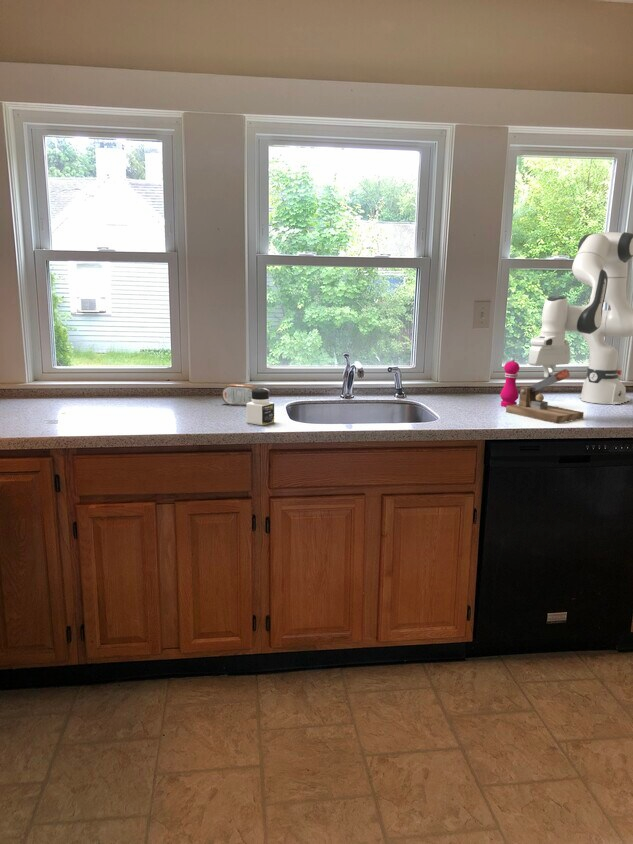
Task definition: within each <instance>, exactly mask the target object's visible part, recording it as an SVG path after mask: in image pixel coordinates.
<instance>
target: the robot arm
mask: <svg viewBox="0 0 633 844" xmlns="http://www.w3.org/2000/svg"><path fill="white" fill-rule="evenodd" d="M632 258H633V233H631V232H627V231H625V232H618V231H617V232H615V231H614V232H613V231H608V232H600V233H589V234H585V235H583V236H582V237H581V238H580V240H579V241H578V244H577V253H576V255H575V257H574V260H573V262H572V266H571V271H572V274H573V276H574V277H575V279H577V281H579V282H581V283H582V284H584V285H587V286H589V287H591V294H590V299H589V303H588V304H586V305H572V304H571V305H570V304H569V302H568V297H566V296H564V295H552V296H548V297H546V298H545V300H544V304H543V308H542V313H541V328H540V332H539V334H538V335H536V336H535V337H533V338H531V339H530V347H529V353H528V364H529V365H530V366H533V367H539V366H542V370H543V377H544V378H548V377H551V376H553V375H554V371H555V369H556V366H557V365H568V364H569V363H570V361H571V346H570V341H568V340H567V339H565V338H566V332H572V333H573V332H575V333H578V334H579V335H581V336H582V337H583V338H584V340H585V341H586V343H587V345H588V346H587V347H588V351H589V353H588V355H589V356H588V357H589V358H588V367H587V369H586V378H585V379H584V381H583V384H582V390H581V393H580V395H579V396H578V399H580V398H581V399H580V401H583V402H586V403H591V404H600V405H601V404H602V405H615V404H620V405H622V404H621V403H623V404H625V403H624V402H626V403H628V402H627V401H629V402H631V401H632V399H631V398H629V397H626V394H627V393H626V392H627V391H626V390H627V389H626V386H625V384H623V383H622V382H621V381H620V379H619V376H621V375H622V374H623V370H621V369H617V367H618V361H619V352H618V350H617V349H616V348H615V347H614V346H612V345H610V344H609V343H607V342H606V341H605V337H608V338H610V337H612V338H629V337H633V308H632V307H631V305H630V303H629V301H628V298H627V282H628V274H629V273H628V269H629V268H628V266H629V265H628V261H629V260H631V259H632ZM605 303H606V304H608V305H609V307H610V310H606V309H604V304H605ZM603 309H604V310H603ZM630 400H631V401H630Z"/></svg>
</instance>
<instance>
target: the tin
mask: <svg viewBox="0 0 633 844" xmlns="http://www.w3.org/2000/svg"><path fill="white" fill-rule="evenodd" d="M253 389H257V388H256V387H255V386H254V385H252V384H241V383H230V384H229V383H228V384H227V385H225V387H224V388H223V389H222V390H221V398H222V401H224V403H226V405H230V406H240V405H241V406H243V407H244V406H245V407H246V404H247V403H250V402H253V401H252V390H253Z"/></svg>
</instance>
